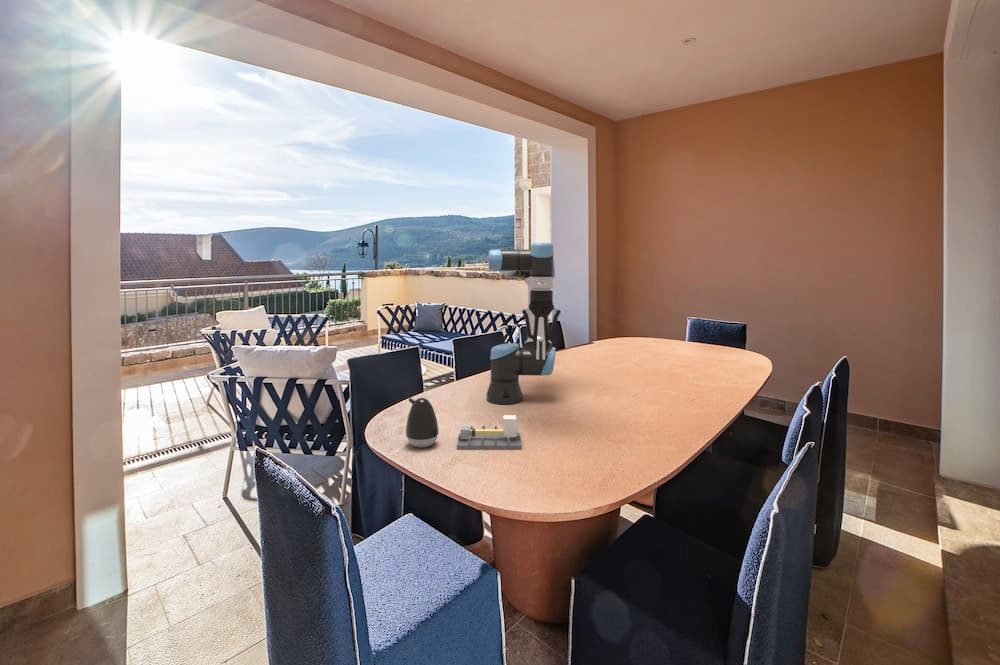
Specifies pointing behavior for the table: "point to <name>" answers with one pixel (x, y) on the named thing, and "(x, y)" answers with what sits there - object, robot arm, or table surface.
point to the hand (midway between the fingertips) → (540, 358)
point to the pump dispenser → (421, 424)
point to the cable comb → (487, 439)
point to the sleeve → (509, 426)
